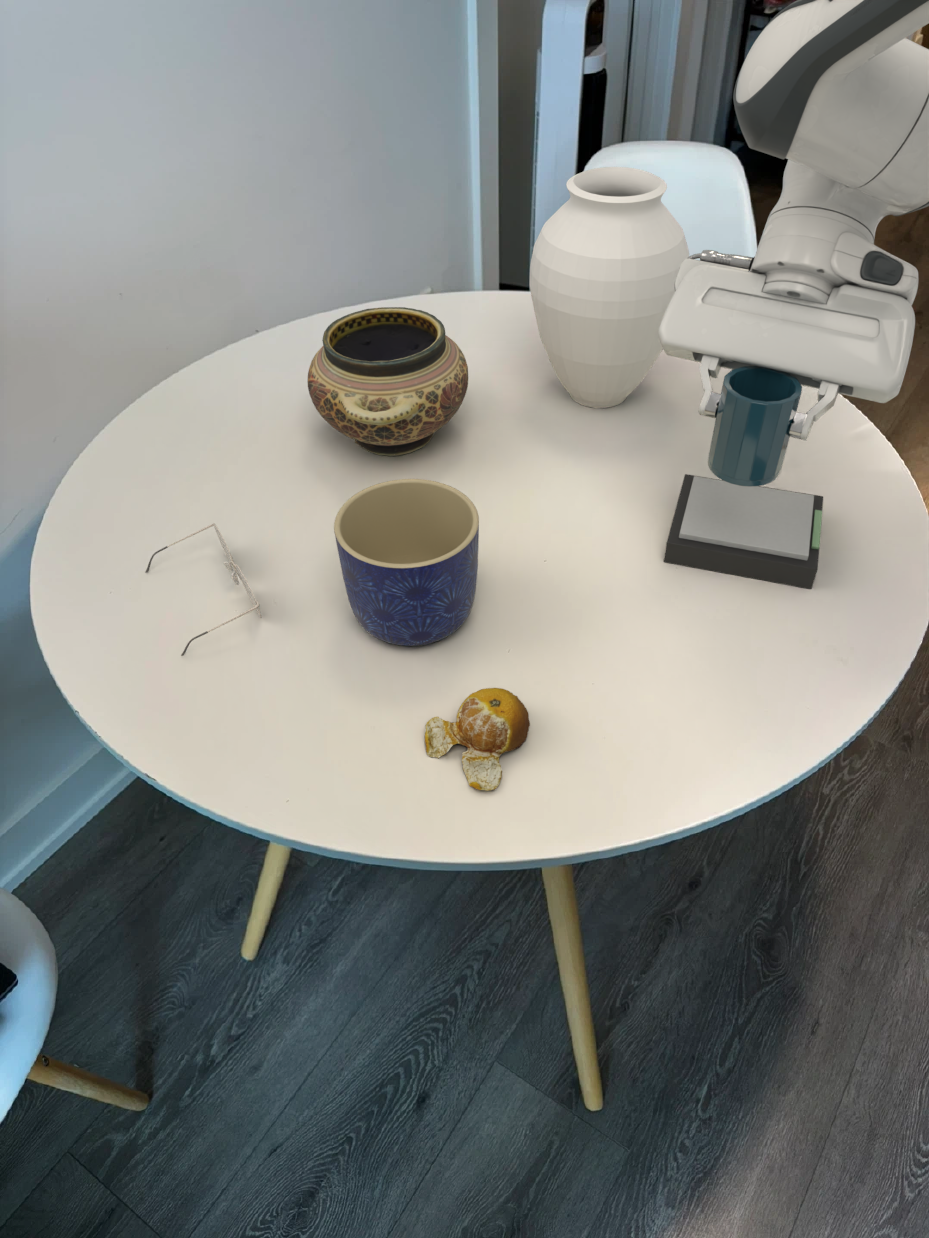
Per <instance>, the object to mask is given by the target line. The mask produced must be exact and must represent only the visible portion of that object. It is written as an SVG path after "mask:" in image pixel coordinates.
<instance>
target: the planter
mask: <svg viewBox="0 0 929 1238" xmlns="http://www.w3.org/2000/svg"><path fill="white" fill-rule="evenodd" d="M479 531H480V516H479V512H478V510H477V507H476V505H475V504H474V503H473V501H472V500H471V499H470V498H469V497H468V496H467V495H466V494H465V493H463V492H462V491H460V490H459V489H457V488H456V487H453V486H452V485H449V484H446V483H443V482H440V481H436V480H435V481H434V480H430V479H423V478H402V479H401V478H400V479H394V480H388V481H383V482H380V483H376V484H374V485H373V484H372V485H371V486H368V487H366V488H364V489H362V490H360V491H358V492H357V493H355V494H354V495H352V496H351V497H350V498H348V499H346V501H345V502H344V503H343V504H342V506H341V507H340V508H339V510H338V511H337V514H336V516H335V519H334V522H333V532H334V537H335V542H336V548H337V552H338V559H339V564H340V568H341V574H342V579H343V583H344V587H345V592H346V595H347V598H348V602H349V605H350V608H351V610H352V613H353V615H354V617H355V619H356V621H357V622H358V623H359V625H360V626H361V627H362V628H363V629H364V630H365V631H366V632H368V633H369V634H370V635H371V636H373V637H374V638H377V639H379V640H380V641H383V642H386V643H389V644H392V645H398V646H405V647H406V646H410V647H412V646H414V647H415V646H423V645H428V644H432V643H436V642H438V641H440V640H443V639H446V638H447V637H449V636H450V635H452V634H453V633H455V631H457V630H458V629H459V628H460V627H461V626H463V624H464V623H465V621H466V620H467V619H468V617H469V615H470V613H471V611H472V608H473V605H474V602H475V597H476V591H477V582H478V567H479V542H480V541H479V539H480V538H479V537H480V535H479V533H480V532H479Z"/></svg>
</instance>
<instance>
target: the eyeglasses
mask: <svg viewBox="0 0 929 1238" xmlns="http://www.w3.org/2000/svg"><path fill="white" fill-rule="evenodd" d="M212 527H214V530H215V532H216V535H217V538H218V540H219V543H220V545H221V547H222V549H223V551H224V553H225V556H226V557H227V559H228V560H229V562H228V561H223V565H224V567H225V568H226V569H227V570H228V571H229V572H232V571H233V570H234V572H232V573H231V575H230V577H231V580H232V582H233V584H235V585H236V586H240V581H241V583H242V586H243V587H244V590H245V592H246V594H247V596H248V598H249V600H250V602H251V603H252V605H253V606H252V608H250V609H248V610H246V611H244V612H241V613H240V614H238V615H235V616H234V617H231V618H230V619H228V620H226V621H224V622H223V623H221V624H218V625H216V626H215V627H213V628H211V629H209V630H207V631H204V632H202V633H200V634H198V635H196V636H194V637H192V638H191V639H190V640H189V641H188V642H187V644H186V645H185V647H184V650H183V652H182V653H181V655H180V656H181V657H183V656H184V655H186V652H187V650H188V648H189V646H190V644H191V643H192V642H193V641H194V640H196V639H198V638H200V637H203V636H204V635H207V634H208V633H211V632H212V631H214V630H216V629H218V628H220V627H222V626H224V625H227V624H228V623H230V622H233V621H234V620H237V619H239V618H241V617H243V616H246V615H247V614H250V613H251V612H253V611H256V613H257V615H258V616H259V618H260V619H261V618H262V614H261V610H260V603H259V601H258V600H256V597H255V595H254V592H253V590H252V588H251V586H250V584H249V582H248V580H247V578H246V577H245V575H244V572H243V571H242V569H241V568H240V567H239V565H238V564H236V563H235V562H234V559H233V557H232V554H231V551H230V549H229V546H228V545H227V542H226V540H225V538H224V537H223V535H222V532H221V531H220V529H219V528H218V526H217V524H216V523H215V522H213V523H212V524H209V525H207V526H204V527H203V528H201V529H198V530H197V531H195V532H193V533H191V534H189V535H187V536H184V537H183V538H180V539H179V540H177V541H175V542H173V543H171V544H168V545H166V546H164V547H162V548H160V549H159V550H157V551H155V552H154V553H153V554H152V555H151V557H150V559H149V562H148V564H147V568H146V570H145V573H147V574H148V573H149V571H150V568H151V564H152V561H153V559H154V557H155V555H157V554H159V553H161V552H162V551H164V550H166V549H169V548H170V547H171V546H174V545H176V544H178V543H180V542H182V541H185V540H186V539H188V538H190V537H193V536H195V535H197V534H199V533H201V532H204V531H205V530H208V529H210V528H212ZM238 577H239V579H238ZM239 580H240V581H239Z"/></svg>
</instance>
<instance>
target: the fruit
mask: <svg viewBox="0 0 929 1238" xmlns="http://www.w3.org/2000/svg"><path fill="white" fill-rule="evenodd" d="M529 717H530V714H529V711H528V709H527V708H526V706H525V704H524V703H523V702H522V700H521V699H520V698H519V697H518V695H515V694H514V693H513V692H511V691H509V690H507V689H505V688H500V687H487V688H482V689H481V688H480V689H478V690H477V691H474V692H472V693H471V694H469V695H468V696H467V697H466V698H465V699H464V700H463V702H462V703H461V705H460V706H459V708H458V710H457V713H456V721H454V722H451V721H449V720H445V719H443V718H440V717H439V716H434V717H431V718H430V719H428V721H426V724H425V732H424V744H425V752H426V755H427V756H429V757H430V758H437V759H440V757H442V756H444V755H447V753H449V751H450V750H451V748H452V747H453V746H454V745H457V744H458V745H462V746H465V747H466V748H467V750H466V751H462V754H461V756H462V758H461V763H462V771H463V772H464V774H465V777H466V781H467V782H468V785H469V787H470V788H473V789H474V790H478V791H486V792H488V791H492V790H493V791H494V790H496V789H497V788H498V787H499V785H500V783H501V780H502V779H503V778H502V777H503V770H502V765H501V763H500V757H501V755H503V754H505V753H506V752H512V751H514V750H518V749H520V748H521V747H522V746H523V744H524V743H525V742H526V740H527V738H528V734H529V729H530V726H531V722H530V718H529Z"/></svg>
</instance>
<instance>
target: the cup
mask: <svg viewBox="0 0 929 1238" xmlns="http://www.w3.org/2000/svg"><path fill="white" fill-rule="evenodd" d="M802 390H803V385H801V384H800V383H799V381H798V380H797V379H796V378H795V377H793V376H792V375H790V374H789V373H787V372H783V371H778V370H774V369H769V368H765V367H760V366H744V367H740V368H737V369H734V370H730V371H729V372H728V373H726V374H725V375H724V377H723V381H722V387H721V391H720V394H721V396H720V401H719V406H718V411H717V416H716V419H715V422H714V428H713V431H712V436H711V442H710V447H709V452H708V457H707V466H708V468H709V470H710V472H711V473H712V474H713V475H714V476H716V477H717V479H719V480H724V481H726V482H728V483H731V484H735V485H739V486H749V487H750V486H765V485H768V484H770V483H772V482H774V481H775V480H776V479H778V477H779V475H780V474H781V470H782V467H783V464H784V460H785V456H786V452H787V449H788V444H789V441H790V438H791V437H790V436H789V430H790V427H791V424H793V423H794V421H793V419H794V416H795V414H796V412H798V407H799V403H800V400H801V396H802Z"/></svg>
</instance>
